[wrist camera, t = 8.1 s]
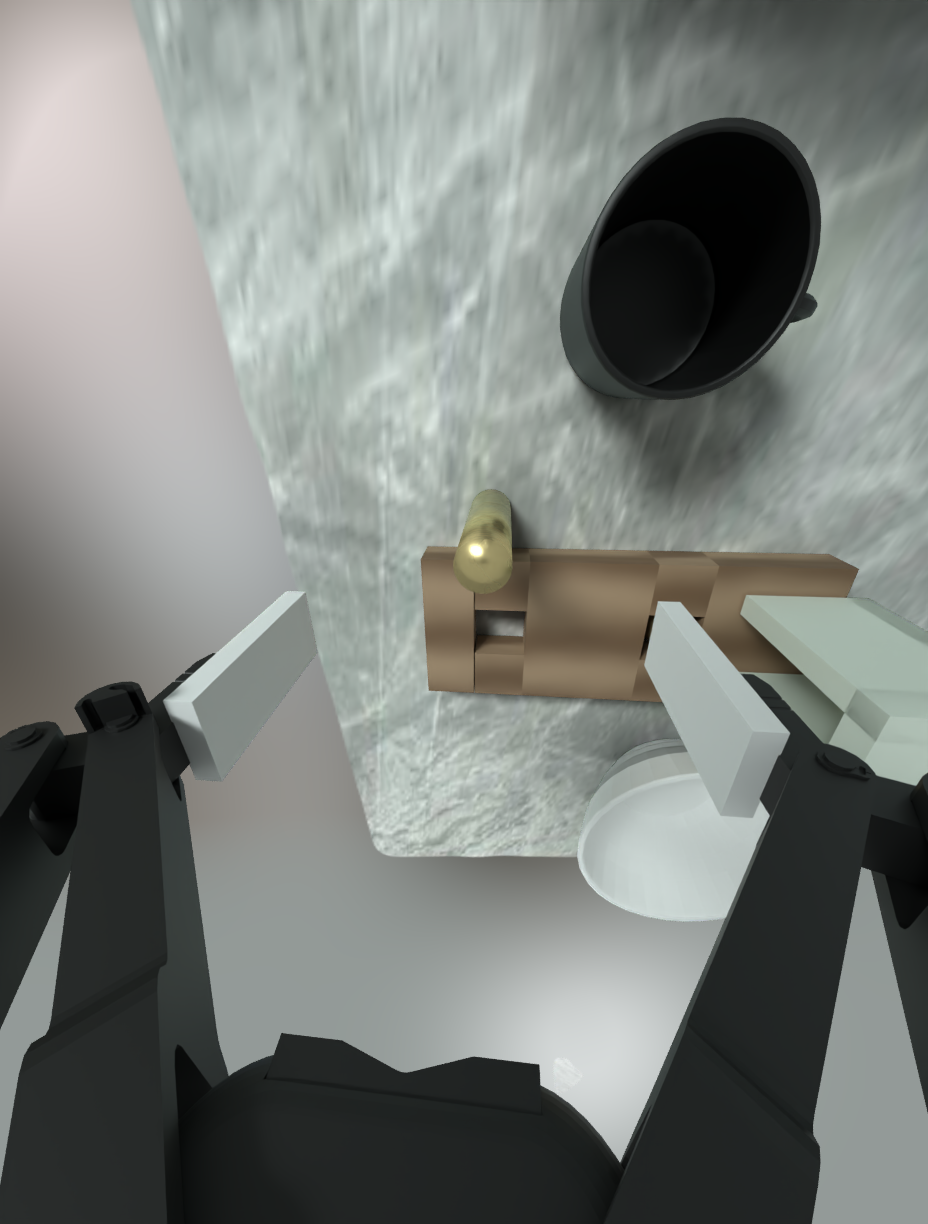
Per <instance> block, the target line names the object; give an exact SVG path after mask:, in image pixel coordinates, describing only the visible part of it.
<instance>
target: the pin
mask: <svg viewBox="0 0 928 1224" xmlns="http://www.w3.org/2000/svg"><path fill="white" fill-rule="evenodd" d="M453 570H454V574H455V576H456V578H457V580H458V581H459V583H460V584H461V585H462V586H463V587H464V588H466V589H468V590H469V591H472V592H475V593H480V594H487V593H492V592H495V591H497V590H499V589H500V588H502V587H503V586H504V585H505V584H506V583H507V582H508V580H509V578H510V576H511V573H512V534H511V505H510V502H509V500H508V498H507V497H506V496H505V495H504V494H503V493H502V492H500V491H497V490H492V489H491V490H485V491H483V492H481V493H479V494H478V495H477V496H476V497H475V499H474V500H473V503H472V506H471V509H470V512H469V515H468V518H467V521H466V524H465V527H464V530H463V533H462V536H461V539H460V542H459V545H458V548H457V551H456V554H455V557H454V562H453Z"/></svg>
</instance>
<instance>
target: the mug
mask: <svg viewBox="0 0 928 1224" xmlns="http://www.w3.org/2000/svg"><path fill="white" fill-rule="evenodd" d="M820 231H821V213H820V201H819V196H818V192H817V188H816V184H815V180H814V177H813V175H812V172H811V170H810V168H809V166H808V164H807V161H806V159H805V158H804V157H803V155H802V154H801V153H800V151H799V150H798V149H797V147H796V146H795V145H794V144H793V143H792V142H791V141H790V140H789V139H788V138H787V137H785V136H784V135H783V134H782V133H781V132H780V131H778V130H776V129H774V128H772V127H770V126H768V125H766V124H764V123H761V122H758V121H754V120H749V119H745V118H719V119H713V120H709V121H704V122H700V123H697V124H695V125H692V126H690V127H687V128H685V129H682V130H680V131H679V132H677V133H675V134H673V135H671V136H670V137H668V138H667V139H665V140H663V141H662V142H660V143H659V144H657V145H656V146H655V147H654V148H653V149H651V150H650V151H649V152H648V153H647V154H645V155H644V156H643V157H642V158H641V159H640V160H639V161H638V162H637V163H636V164H635V165H634V166H633V167H632V168H631V170H630V171H629V172H628V173H627V174H626V175H625V176H624V177H623V179H622V180H621V181H620V183H619V184H618V186H617V187H616V189H615V190H614V191H613V193H612V194H611V196H610V198H609V199H608V201H607V203H606V204H605V206H604V208H603V210H602V212H601V214H600V216H599V217H598V219H597V221H596V223H595V225H594V227H593V229H592V231H591V233H590V235H589V237H588V239H587V241H586V243H585V245H584V247H583V249H582V251H581V253H580V255H579V257H578V258H577V260H576V262H575V264H574V266H573V268H572V270H571V273H570V275H569V278H568V280H567V283H566V286H565V290H564V294H563V298H562V303H561V312H560V331H561V337H562V343H563V347H564V350H565V353H566V356H567V358H568V360H569V362H570V364H571V366H572V368H573V369H574V371H575V372H576V373H577V375H578V376H579V377H580V378H581V379H582V380H583V381H584V382H585V383H586V384H587V385H588V386H590V387H591V388H593V389H594V390H596V391H598V392H600V393H602V394H605V395H608V396H612V397H616V398H636V399H664V400H676V399H685V398H691V397H695V396H698V395H702V394H705V393H708V392H710V391H713V390H715V389H717V388H719V387H722V386H724V385H726V384H727V383H729V382H730V381H732V380H734V379H735V378H737V377H738V376H740V375H741V374H743V373H744V372H745V371H747V370H748V369H749V368H750V367H752V366H753V365H754V364H755V363H757V362H758V361H759V360H760V359H761V358H762V357H763V356H764V355H765V353H766V352H767V351H768V350H769V349H770V348H771V347H772V346H773V345H774V344H775V342H776V341H777V340H778V339H779V337H780V336H781V335H782V334H783V332H784V331H785V330H786V328H787V327H788V325H789V323H792V322H797V321H800V320H803V319H805V318H808V317H810V316H812V314H813V313H814V311H815V309H816V308H817V302H816V300H815V298H814V297H813V296H812V295H810V294H808V293H806V291H807V289H808V286H809V283H810V280H811V277H812V274H813V271H814V268H815V264H816V260H817V255H818V250H819V245H820Z"/></svg>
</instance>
